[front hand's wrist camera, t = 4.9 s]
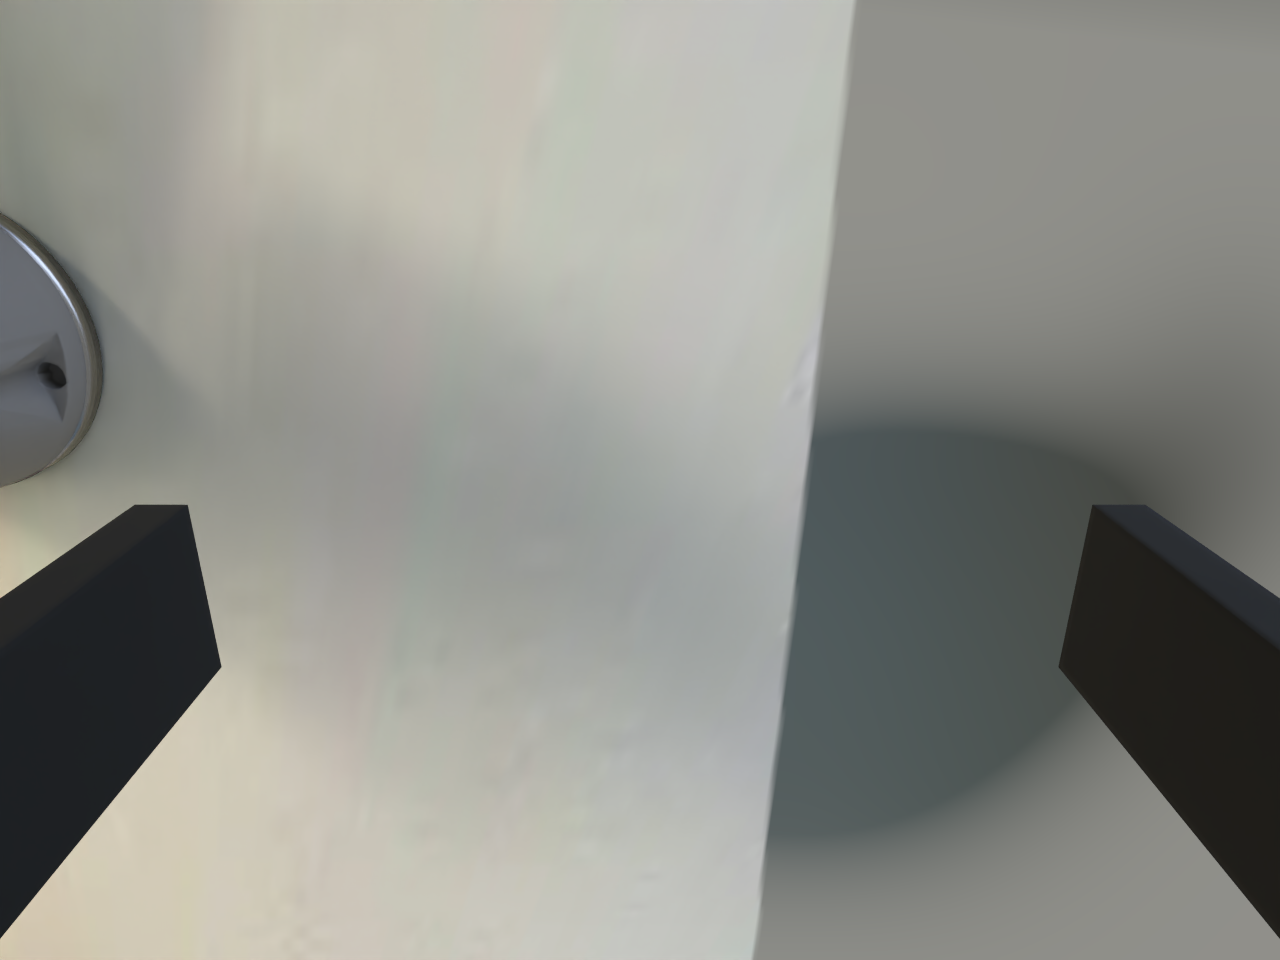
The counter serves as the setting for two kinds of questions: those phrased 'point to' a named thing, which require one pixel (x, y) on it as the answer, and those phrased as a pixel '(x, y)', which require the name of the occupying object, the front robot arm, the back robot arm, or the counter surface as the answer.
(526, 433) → the counter surface
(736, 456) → the counter surface
